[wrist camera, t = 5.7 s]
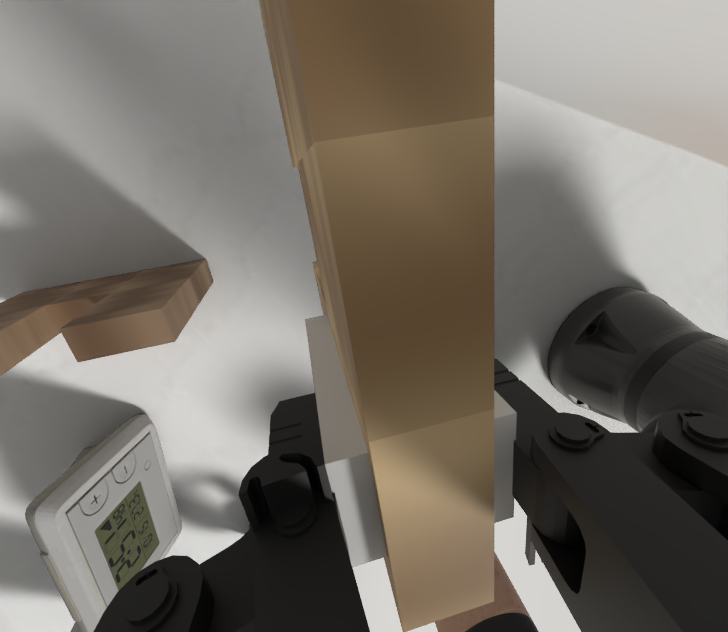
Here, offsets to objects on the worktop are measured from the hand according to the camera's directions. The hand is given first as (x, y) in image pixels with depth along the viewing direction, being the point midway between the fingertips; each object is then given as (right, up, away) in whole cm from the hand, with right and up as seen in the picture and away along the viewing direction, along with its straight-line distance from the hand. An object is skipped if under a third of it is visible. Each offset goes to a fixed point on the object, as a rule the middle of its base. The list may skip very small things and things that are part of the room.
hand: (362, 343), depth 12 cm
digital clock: (-23, -15, +24) cm, 36 cm away
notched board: (-2, +6, +3) cm, 6 cm away
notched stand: (-20, +3, +17) cm, 26 cm away
